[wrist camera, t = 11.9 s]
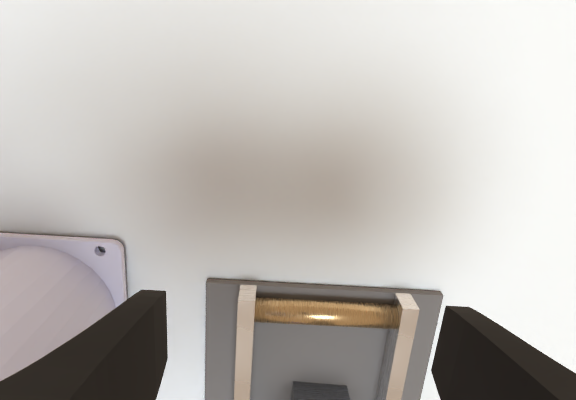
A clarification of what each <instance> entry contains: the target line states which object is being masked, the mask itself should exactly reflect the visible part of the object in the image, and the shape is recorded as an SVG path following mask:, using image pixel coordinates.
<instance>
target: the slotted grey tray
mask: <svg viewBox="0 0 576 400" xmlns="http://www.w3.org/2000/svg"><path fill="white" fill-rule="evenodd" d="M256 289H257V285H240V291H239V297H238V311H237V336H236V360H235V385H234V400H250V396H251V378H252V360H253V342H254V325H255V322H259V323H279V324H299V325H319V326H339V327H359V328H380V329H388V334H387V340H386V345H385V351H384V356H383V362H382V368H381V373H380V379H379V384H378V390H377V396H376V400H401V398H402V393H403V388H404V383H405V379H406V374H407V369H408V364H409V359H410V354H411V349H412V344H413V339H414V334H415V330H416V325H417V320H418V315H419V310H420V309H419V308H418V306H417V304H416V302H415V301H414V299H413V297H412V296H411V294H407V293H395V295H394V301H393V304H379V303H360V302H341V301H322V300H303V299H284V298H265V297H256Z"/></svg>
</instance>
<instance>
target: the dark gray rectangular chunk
mask: <svg viewBox="0 0 576 400" xmlns="http://www.w3.org/2000/svg"><path fill="white" fill-rule="evenodd" d="M290 400H350V397H349V393H348V388H347V386H346V385H334V384H323V383H311V382H300V381H293V384H292V391H291V397H290Z"/></svg>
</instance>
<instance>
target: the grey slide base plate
mask: <svg viewBox="0 0 576 400" xmlns="http://www.w3.org/2000/svg"><path fill="white" fill-rule="evenodd" d="M240 285H257V289H256V297H265V298H284V299H303V300H322V301H341V302H360V303H379V304H393V301H394V295H395V293H407V294H411V296H412V297H413V299H414V301H415V302H416V304H417V306H418V308H419V309H420V310H419V315H418V320H417V325H416V330H415V334H414V339H413V344H412V349H411V354H410V359H409V364H408V369H407V374H406V379H405V383H404V388H403V393H402V398H401V400H420V398H421V393H422V389H423V384H424V380H425V375H426V371H427V366H428V362H429V357H430V353H431V348H432V344H433V339H434V335H435V330H436V326H437V321H438V317H439V312H440V308H441V303H442V299H443V294H442V293H441V292H440V291H426V290H408V289H389V288H371V287H352V286H334V285H315V284H297V283H279V282H260V281H242V280H223V279H207V282H206V353H205V400H234V385H235V360H236V336H237V311H238V297H239V291H240ZM387 334H388V329H380V328H359V327H339V326H319V325H299V324H279V323H259V322H255V325H254V342H253V360H252V378H251V396H250V400H290V397H291V391H292V384H293V381H300V382H311V383H323V384H334V385H346V386H347V388H348V393H349V397H350V400H376V396H377V390H378V384H379V379H380V373H381V368H382V362H383V356H384V351H385V345H386V340H387Z"/></svg>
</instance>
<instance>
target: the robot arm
mask: <svg viewBox="0 0 576 400" xmlns="http://www.w3.org/2000/svg"><path fill="white" fill-rule="evenodd" d="M98 246H101V247H103V248H104V249H105V251H106V252H105V253H103V252H101V251H99V249H98ZM166 362H167V316H166V291H154V290H141V291H139V292H137V293H136V294H134V295H133V296H132V297H130V298H129V299H127V291H126V274H125V257H124V247H123V245H122V244H121V242H119V241H118V240H114V239H101V238H84V237H67V236H50V235H32V234H15V233H0V400H156V397H157V394H158V391H159V387H160V384H161V380H162V377H163V373H164V369H165V366H166ZM431 371H432V374H433V378H434V381H435V384H436V387H437V390H438V393H439V396H440V399H441V400H576V373H574V372H572V371H571V370H569V369H567V368H566V367H564V366H563V365H561V364H559V363H558V362H556V361H554V360H553V359H551V358H550V357H548V356H547V355H545V354H543V353H542V352H540V351H539V350H537V349H536V348H534V347H532V346H531V345H529V344H528V343H526V342H525V341H523V340H522V339H520V338H519V337H517V336H515V335H514V334H512V333H511V332H509V331H508V330H506V329H505V328H503V327H502V326H500V325H499V324H497V323H495V322H494V321H492V320H491V319H489V318H487V317H486V316H484V315H482V314H481V313H479V312H477V311H476V310H474V309H472V308H470V307H458V306H446V308H445V312H444V316H443V321H442V325H441V330H440V334H439V338H438V343H437V347H436V352H435V356H434V361H433V365H432V369H431Z"/></svg>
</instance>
